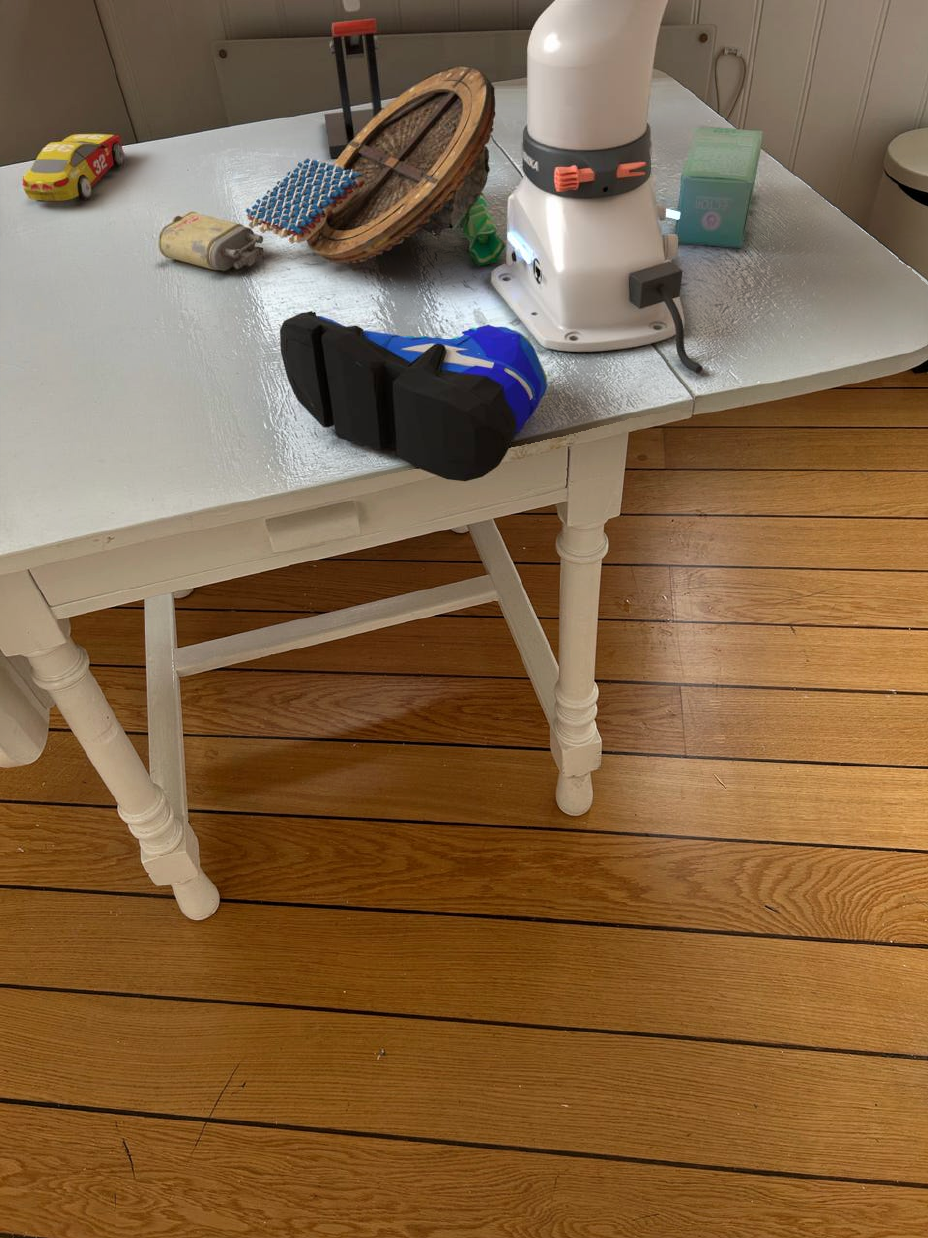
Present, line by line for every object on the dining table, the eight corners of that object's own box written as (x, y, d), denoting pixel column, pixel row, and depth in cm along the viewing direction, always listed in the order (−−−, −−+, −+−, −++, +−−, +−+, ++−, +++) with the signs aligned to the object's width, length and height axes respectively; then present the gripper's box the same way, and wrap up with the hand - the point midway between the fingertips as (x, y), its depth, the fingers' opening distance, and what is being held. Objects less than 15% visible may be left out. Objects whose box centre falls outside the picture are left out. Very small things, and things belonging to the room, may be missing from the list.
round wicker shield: (450, 71, 107) (300, 233, 112) (433, 47, 105) (282, 214, 110) (542, 110, 89) (359, 303, 93) (524, 83, 87) (338, 281, 91)
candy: (472, 178, 104) (492, 207, 107) (447, 197, 105) (467, 225, 108) (489, 223, 96) (510, 254, 99) (462, 244, 97) (484, 273, 100)
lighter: (161, 262, 103) (232, 282, 100) (152, 228, 101) (224, 247, 97) (204, 236, 108) (273, 254, 104) (196, 203, 105) (267, 220, 101)
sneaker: (266, 409, 82) (375, 345, 91) (488, 503, 72) (585, 421, 81) (251, 308, 76) (369, 250, 85) (492, 397, 66) (597, 320, 75)
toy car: (133, 154, 126) (122, 114, 122) (78, 212, 114) (64, 170, 110) (80, 153, 127) (67, 113, 123) (20, 210, 115) (4, 168, 112)
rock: (433, 278, 98) (516, 259, 101) (431, 177, 90) (521, 160, 93) (368, 217, 108) (445, 201, 111) (361, 122, 101) (444, 108, 104)
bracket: (406, 150, 122) (396, 38, 113) (330, 158, 121) (314, 47, 112) (397, 117, 130) (387, 11, 121) (325, 125, 129) (310, 19, 120)
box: (671, 245, 100) (680, 173, 95) (687, 193, 109) (696, 124, 103) (742, 251, 99) (755, 178, 93) (751, 197, 107) (764, 128, 102)
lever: (377, 36, 108) (374, 11, 107) (334, 40, 108) (331, 16, 107) (374, 56, 120) (372, 34, 119) (335, 60, 119) (332, 38, 118)
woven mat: (313, 168, 104) (305, 152, 103) (372, 185, 98) (364, 168, 96) (247, 228, 102) (237, 211, 100) (302, 249, 96) (293, 232, 94)
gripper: (372, -132, 90) (387, 31, 100) (356, -165, 104) (371, -19, 114) (307, -126, 90) (329, 37, 100) (299, -160, 103) (320, -14, 114)
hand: (351, 7), depth 107 cm, fingers closed
